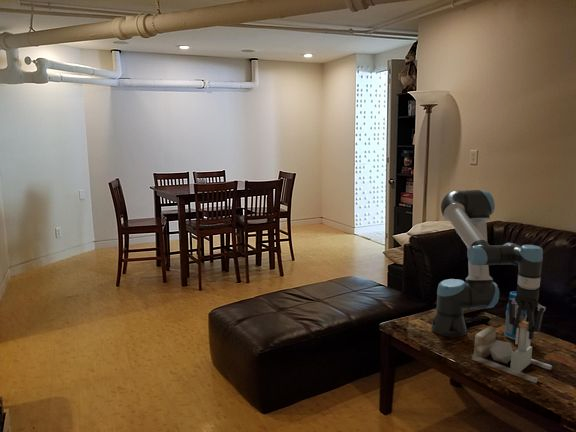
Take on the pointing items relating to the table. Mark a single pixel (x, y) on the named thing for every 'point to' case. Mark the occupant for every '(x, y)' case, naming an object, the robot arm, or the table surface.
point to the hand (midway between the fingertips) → (522, 344)
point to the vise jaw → (521, 350)
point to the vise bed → (482, 350)
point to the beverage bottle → (509, 327)
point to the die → (501, 351)
